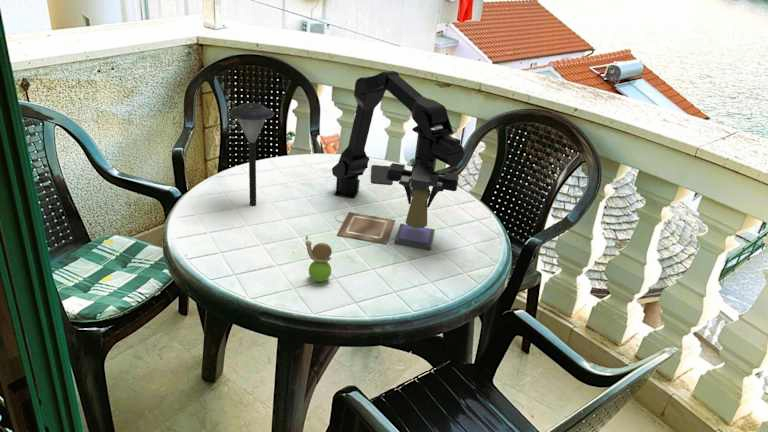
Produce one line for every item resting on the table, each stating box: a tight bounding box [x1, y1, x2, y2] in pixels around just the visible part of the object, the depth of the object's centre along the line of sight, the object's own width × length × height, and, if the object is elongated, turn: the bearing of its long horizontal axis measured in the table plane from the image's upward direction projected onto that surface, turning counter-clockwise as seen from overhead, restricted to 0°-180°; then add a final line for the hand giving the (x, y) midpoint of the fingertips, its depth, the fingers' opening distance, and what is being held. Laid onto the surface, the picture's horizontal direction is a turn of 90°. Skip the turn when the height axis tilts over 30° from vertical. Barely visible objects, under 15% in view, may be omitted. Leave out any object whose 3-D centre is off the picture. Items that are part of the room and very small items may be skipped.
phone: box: [370, 164, 394, 186], centre depth 198 cm, size 7×1×15 cm
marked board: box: [336, 211, 396, 245], centre depth 164 cm, size 14×14×1 cm
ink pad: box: [393, 223, 436, 251], centre depth 161 cm, size 10×10×2 cm
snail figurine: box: [305, 235, 333, 283], centre depth 137 cm, size 5×6×12 cm
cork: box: [405, 188, 431, 228], centre depth 157 cm, size 6×6×11 cm
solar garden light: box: [228, 102, 275, 207], centre depth 163 cm, size 12×12×30 cm
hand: (418, 205), depth 157 cm, fingers closed on cork, 5 cm apart
